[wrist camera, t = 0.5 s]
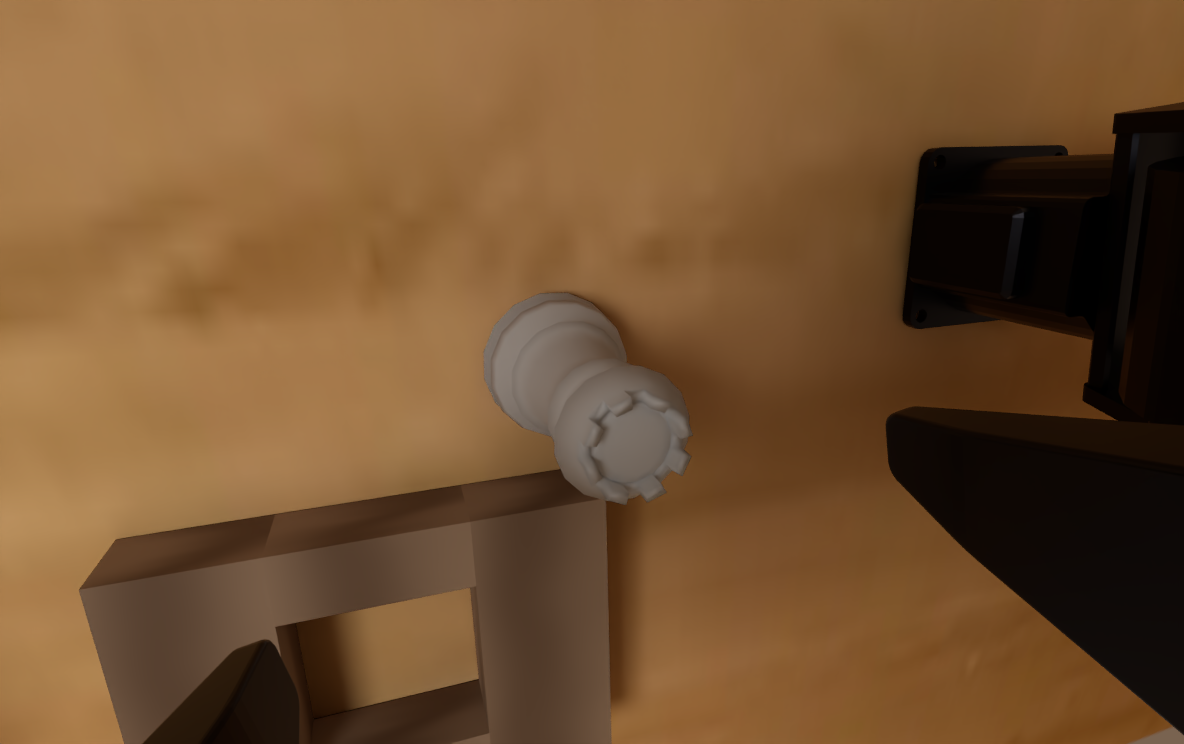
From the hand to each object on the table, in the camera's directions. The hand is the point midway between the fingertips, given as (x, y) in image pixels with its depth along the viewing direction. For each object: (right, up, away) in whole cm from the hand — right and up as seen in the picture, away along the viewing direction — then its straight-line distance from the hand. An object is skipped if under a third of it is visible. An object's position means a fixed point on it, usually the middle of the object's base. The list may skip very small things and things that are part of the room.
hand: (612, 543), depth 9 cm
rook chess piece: (-2, +3, +12) cm, 13 cm away
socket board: (-7, -6, +13) cm, 16 cm away
